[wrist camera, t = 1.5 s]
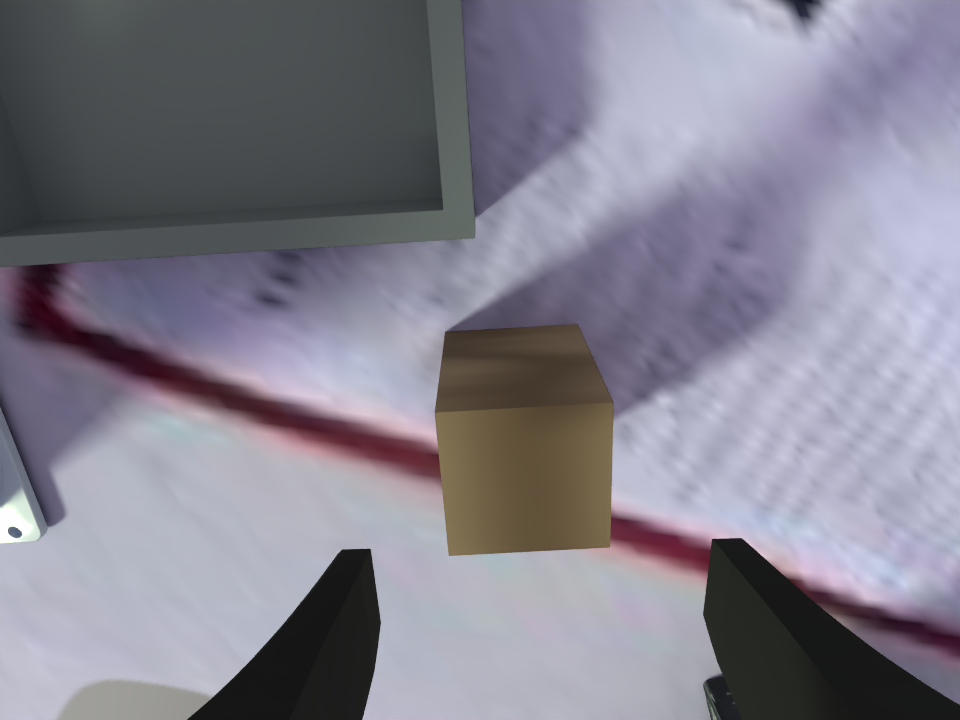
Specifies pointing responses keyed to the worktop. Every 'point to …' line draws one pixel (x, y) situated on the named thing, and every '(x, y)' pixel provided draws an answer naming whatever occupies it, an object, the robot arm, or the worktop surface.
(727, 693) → the small box
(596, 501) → the walnut block
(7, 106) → the tray
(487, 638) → the worktop surface
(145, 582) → the worktop surface
